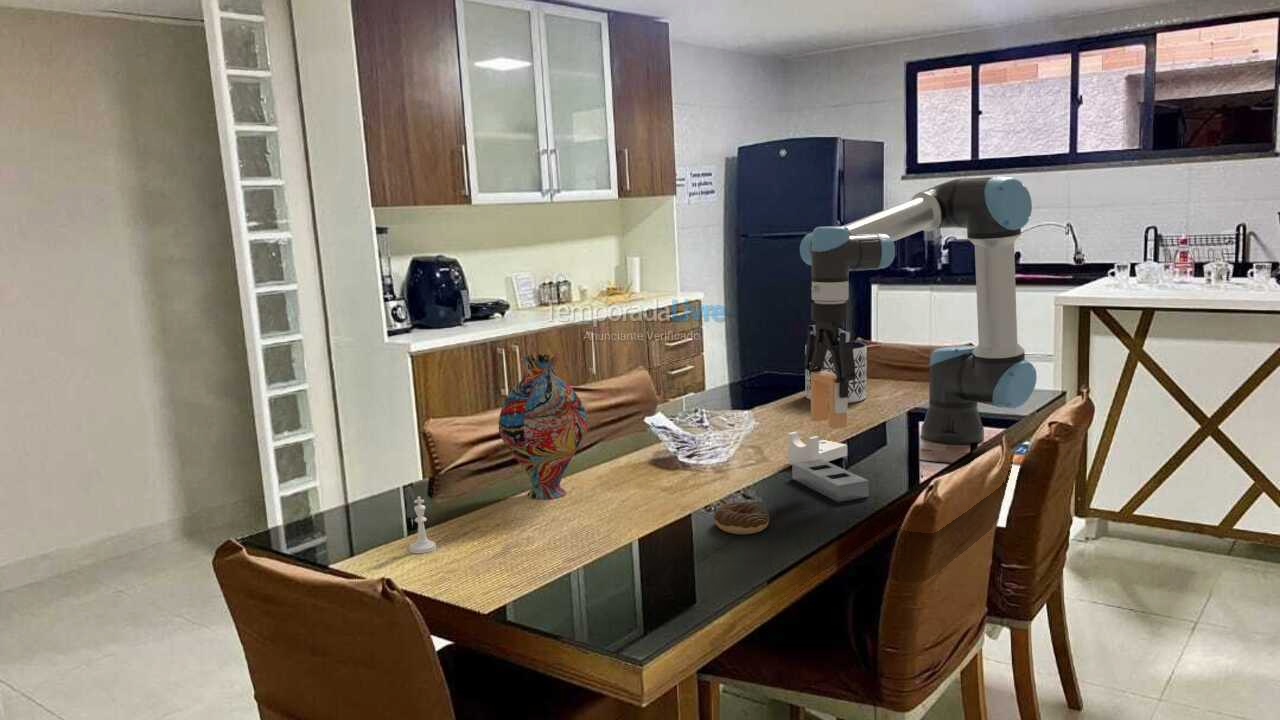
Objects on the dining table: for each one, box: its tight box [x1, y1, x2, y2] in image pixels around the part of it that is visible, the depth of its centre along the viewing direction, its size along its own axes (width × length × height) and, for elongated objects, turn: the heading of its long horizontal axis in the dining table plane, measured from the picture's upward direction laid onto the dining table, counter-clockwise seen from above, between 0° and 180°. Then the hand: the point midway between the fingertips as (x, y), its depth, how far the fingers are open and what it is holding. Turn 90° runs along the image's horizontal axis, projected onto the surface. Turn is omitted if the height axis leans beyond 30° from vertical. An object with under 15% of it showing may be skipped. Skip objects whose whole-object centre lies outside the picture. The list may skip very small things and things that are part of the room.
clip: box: [810, 371, 848, 429], centre depth 202 cm, size 4×8×10 cm, turn 22°
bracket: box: [787, 431, 848, 466], centre depth 225 cm, size 13×7×8 cm, turn 130°
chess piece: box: [408, 496, 437, 554], centre depth 176 cm, size 5×5×10 cm
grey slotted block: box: [791, 459, 870, 503], centre depth 205 cm, size 8×18×4 cm, turn 22°
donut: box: [713, 501, 771, 535], centre depth 183 cm, size 11×11×4 cm
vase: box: [498, 353, 588, 501], centre depth 204 cm, size 19×19×30 cm
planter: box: [804, 340, 868, 404], centre depth 290 cm, size 18×18×16 cm
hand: (828, 408), depth 202 cm, fingers closed on clip, 8 cm apart
